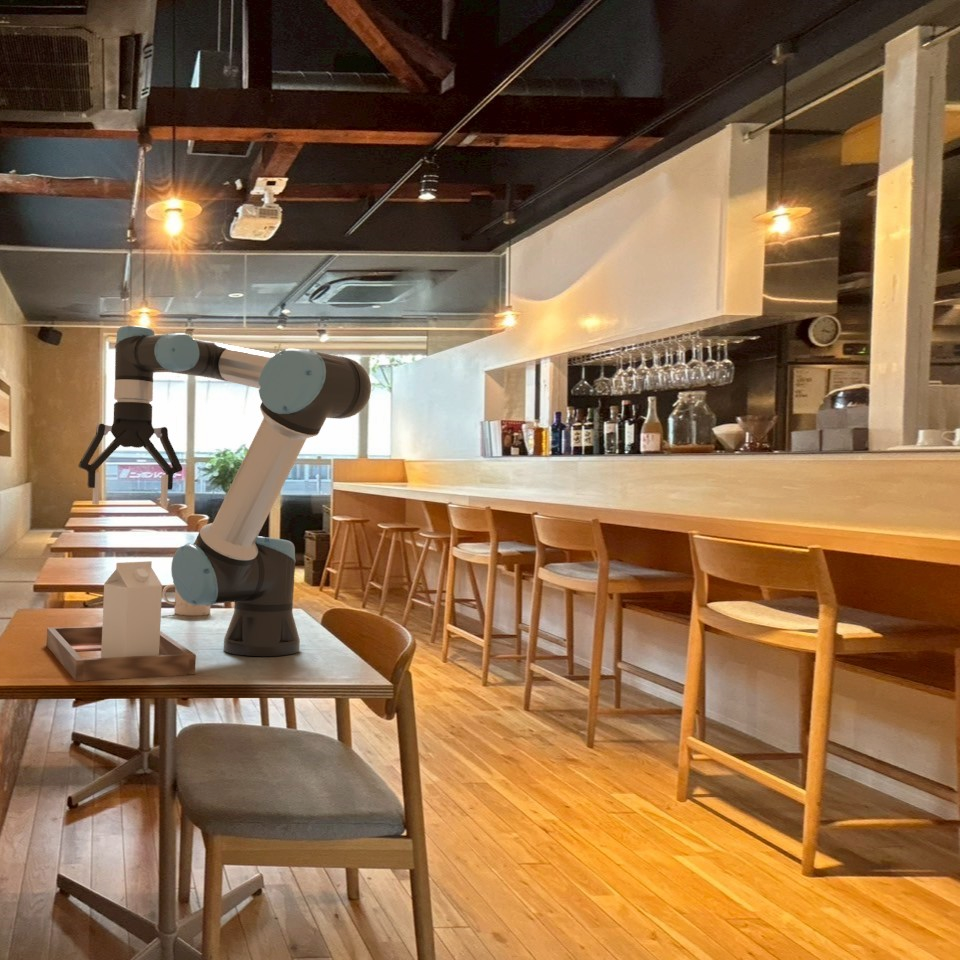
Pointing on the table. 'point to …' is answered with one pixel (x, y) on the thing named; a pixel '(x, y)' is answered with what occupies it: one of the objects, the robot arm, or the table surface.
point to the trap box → (90, 638)
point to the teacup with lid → (185, 605)
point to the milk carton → (131, 611)
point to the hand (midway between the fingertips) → (130, 505)
